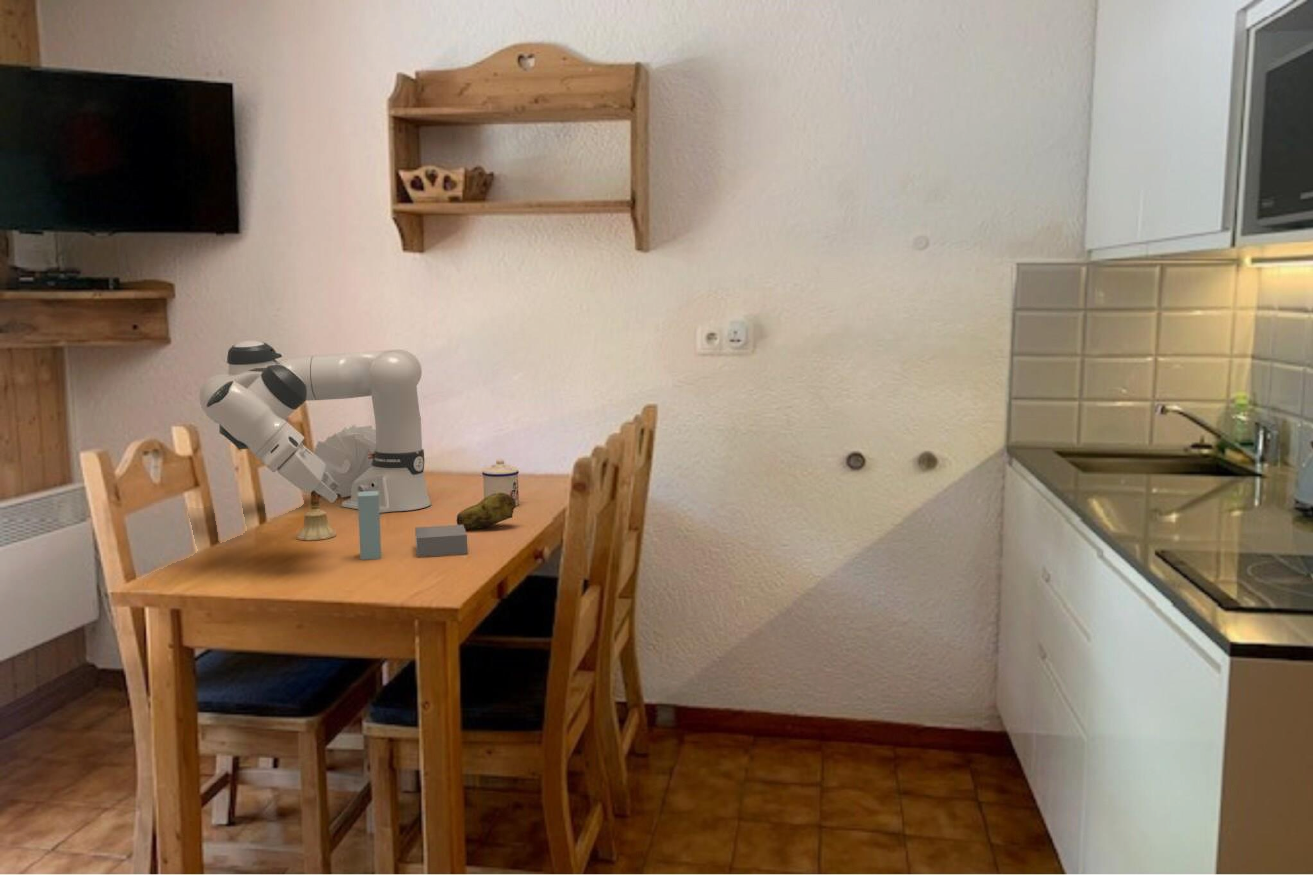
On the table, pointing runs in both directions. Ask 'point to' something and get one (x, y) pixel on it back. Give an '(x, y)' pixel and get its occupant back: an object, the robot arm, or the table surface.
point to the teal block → (369, 525)
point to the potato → (487, 511)
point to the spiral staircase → (347, 455)
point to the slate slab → (441, 540)
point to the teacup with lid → (501, 480)
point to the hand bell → (315, 523)
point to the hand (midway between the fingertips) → (336, 494)
